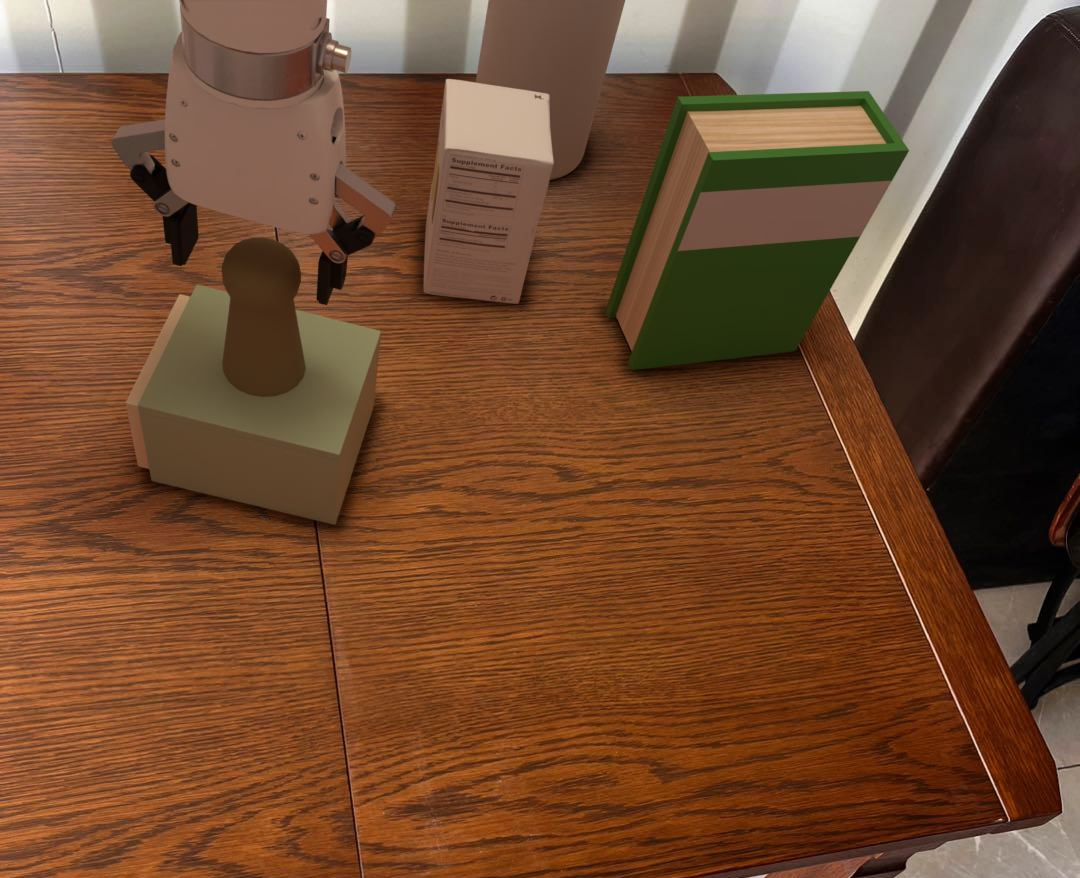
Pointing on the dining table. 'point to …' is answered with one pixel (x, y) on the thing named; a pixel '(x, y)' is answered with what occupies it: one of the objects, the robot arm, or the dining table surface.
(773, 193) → the hardback book
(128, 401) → the drawer
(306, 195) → the robot arm
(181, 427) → the cabinet
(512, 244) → the supplement box
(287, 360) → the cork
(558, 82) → the cylinder vase
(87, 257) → the dining table surface
